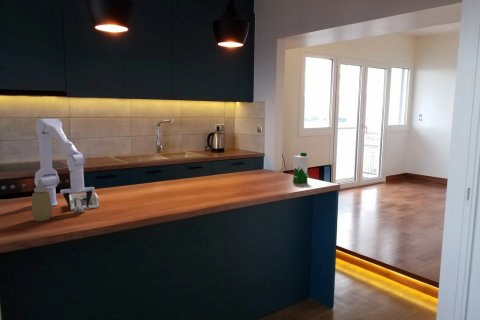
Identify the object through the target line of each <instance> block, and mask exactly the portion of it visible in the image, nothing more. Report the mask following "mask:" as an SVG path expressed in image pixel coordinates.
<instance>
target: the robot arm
mask: <svg viewBox="0 0 480 320" xmlns="http://www.w3.org/2000/svg"><path fill="white" fill-rule="evenodd" d="M35 133H36V134H35V135H37V137H38V139H37V140H38V151H39V152H38V153H39V162H40V164H39V165H40V169H38V170H37V171H36V172H35V174H34V185H35V188H36V187H37V184H38V180H39V179H41V180H42V183H43V186H44V187H46V189H47V191H46V192H49V195H50V200H51V206H52V207H55V206H58V201H57V193H56V188H57V186H58V185H59V183H60V177H59V175H58V171H57V170H56V169H54V168H53V157H52V146H51V144H52V142H51V137H52V136H54V137H55V139H56V140H57V141H58V143H59V144H60V148H59V149H60V150H61V151H62V153H63V155H64V156H65V158H66V164H67V167H68V170H69V178H70V188H65V189H60V190H59V191H60V195H63V198H64V199H65V202H66V203H67V205H68V210H71V207H70V196H69V195H72V194H79V193H80V194H83V193H85V194H86V199H87V202H86V206H87V207H88V206H89V201H90V198H91V196H92V193H96V192H95V187H94V186H87V187H85V179H84V166H85V164H86V161H87V160H86V157H85V156H86V155H84V153H82V152H80V151H78V149H77V147H76V146H75V145H74V143H73V142H72V141H69V140H68V138H67V136H66V134H65V132H64V130H63V123H62V121H61V120H60V118H59V117H58V118H57V117H56V118H38V119H37V121H36V122H35Z"/></svg>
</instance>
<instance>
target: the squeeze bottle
mask: <svg viewBox="0 0 480 320" xmlns="http://www.w3.org/2000/svg"><path fill="white" fill-rule="evenodd" d="M33 190H34V192H33V193H32V194H31V197H32V198H31V215H32V216H33V219H34V221H36V222H46V221H49V220H50V219H51V217H52V213H53V206H51V200H50V195H49V192H46V191H47V189H46V187H44V186H43V183H42V180H41V179H39V180H38V184H37V187H36V186H35V187H34V189H33Z"/></svg>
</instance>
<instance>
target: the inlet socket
mask: <svg viewBox="0 0 480 320" xmlns="http://www.w3.org/2000/svg"><path fill="white" fill-rule="evenodd" d="M82 201H83V206H86V202H87V199H86V198H82ZM89 205H92V199H91V198H90V201H89Z"/></svg>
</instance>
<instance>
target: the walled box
mask: <svg viewBox="0 0 480 320" xmlns="http://www.w3.org/2000/svg"><path fill="white" fill-rule="evenodd" d="M69 196H70V207H71V209H70V211H72V212H73V211H75V208H74V198H75V197H82V198H86V193H80V194H79V193H74V194H69ZM91 199H92V205H89V206H88V207H87V206H83V210H90V209H100V205H99V196H98V194H97V193H96V192H92V196H91Z"/></svg>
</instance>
